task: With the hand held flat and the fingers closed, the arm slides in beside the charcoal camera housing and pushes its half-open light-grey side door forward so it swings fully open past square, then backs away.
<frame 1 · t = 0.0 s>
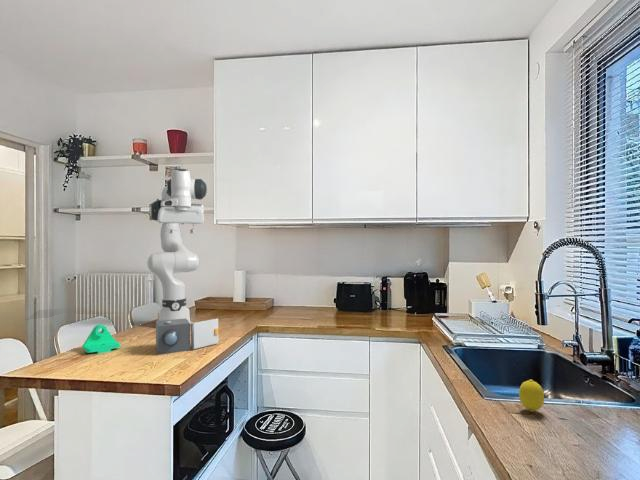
hand: (181, 233, 183), 48 cm above the counter, tool pointing down, fingers open, 8 cm apart
side door: (205, 333, 165), point 6 cm above the counter, hinge at 65.0°
camera housing: (172, 348, 163), on the counter
lemon: (531, 412, 99), on the counter
camera mount: (101, 351, 162), on the counter
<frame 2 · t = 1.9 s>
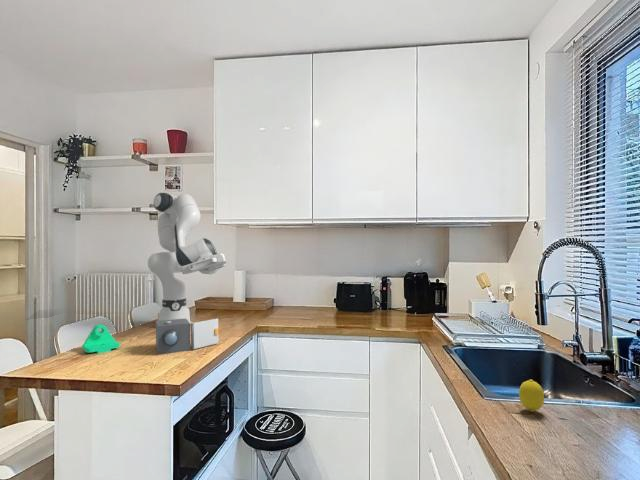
hand: (200, 263, 176), 34 cm above the counter, tool horizontal, fingers open, 8 cm apart
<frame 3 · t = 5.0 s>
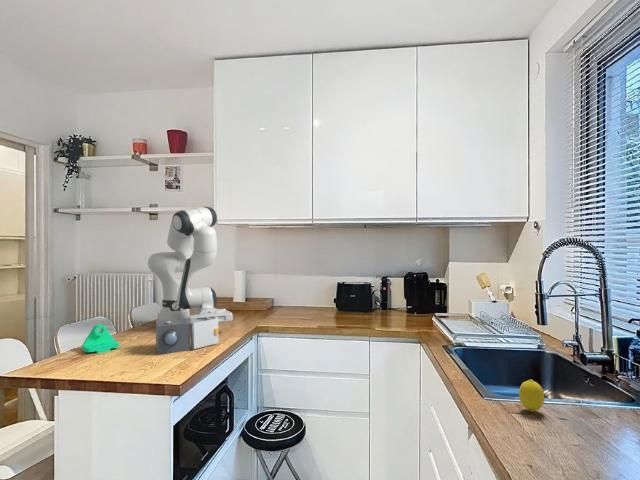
hand: (213, 320, 180), 8 cm above the counter, tool horizontal, fingers closed
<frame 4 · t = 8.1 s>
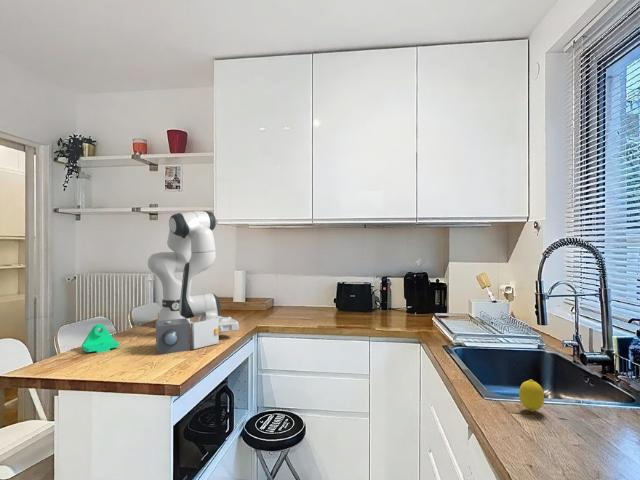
hand: (218, 330, 171), 6 cm above the counter, tool horizontal, fingers closed
side door: (205, 333, 165), point 6 cm above the counter, hinge at 65.4°, touching gripper
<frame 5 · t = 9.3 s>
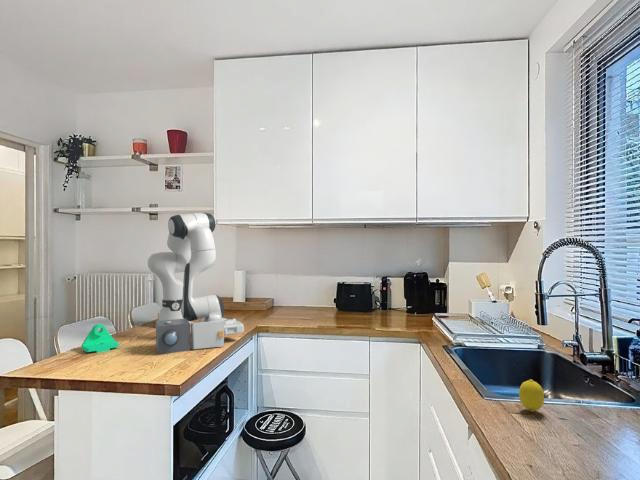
hand: (223, 333, 165), 5 cm above the counter, tool horizontal, fingers closed, pressing on side door
side door: (207, 334, 162), point 6 cm above the counter, hinge at 95.5°, touching gripper
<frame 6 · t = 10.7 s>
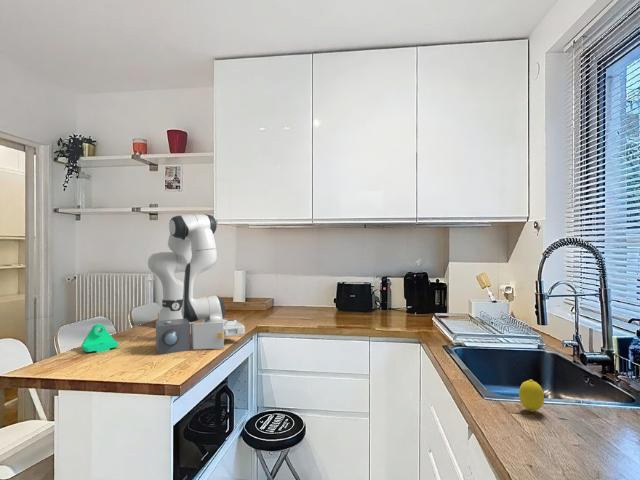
hand: (224, 335, 163), 5 cm above the counter, tool horizontal, fingers closed
side door: (207, 335, 161), point 6 cm above the counter, hinge at 110.9°, touching gripper
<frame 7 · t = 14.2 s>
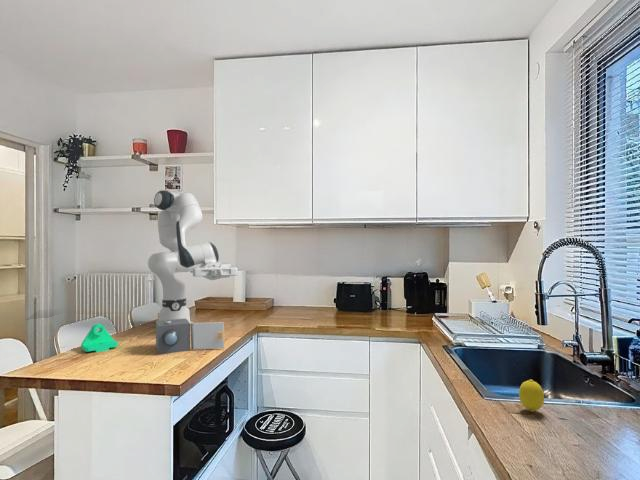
hand: (218, 272, 178), 30 cm above the counter, tool horizontal, fingers closed
side door: (207, 335, 161), point 6 cm above the counter, hinge at 110.9°
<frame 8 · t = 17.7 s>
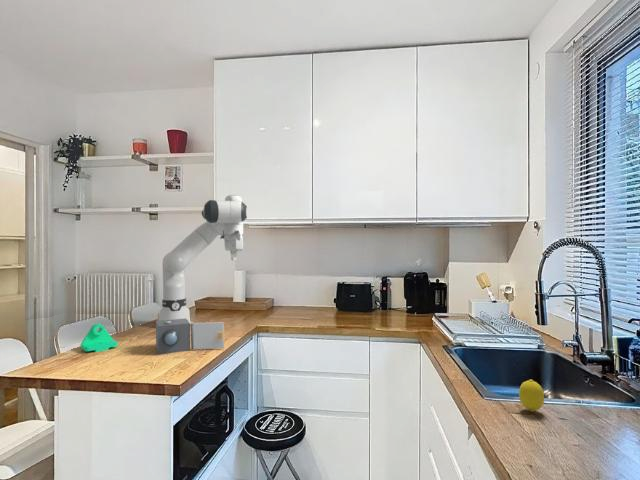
hand: (233, 260, 184), 35 cm above the counter, tool pointing down, fingers closed
at the end: side door at +111° (first picture: +65°) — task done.
